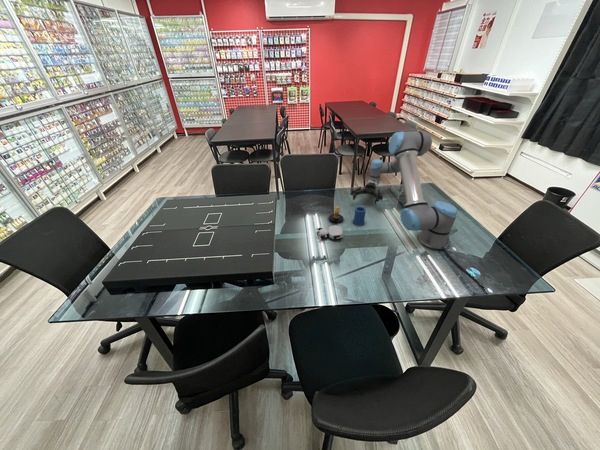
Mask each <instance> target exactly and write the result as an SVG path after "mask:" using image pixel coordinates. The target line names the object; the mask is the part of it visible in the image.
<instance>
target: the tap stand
mask: <svg viewBox="0 0 600 450" xmlns="http://www.w3.org/2000/svg"><path fill="white" fill-rule="evenodd" d="M328 221H329V222H330V223H331V224H334V225H338V224H339V225H340V224H342V223H343V222H344V216H343V215H342V214H340V207H339V206H338V205H337V206H335V207H334V213H332V214H330V215H329V216H328Z"/></svg>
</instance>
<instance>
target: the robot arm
mask: <svg viewBox="0 0 600 450" xmlns="http://www.w3.org/2000/svg"><path fill="white" fill-rule="evenodd" d="M432 144H433V139H432V137H431V135H430V133H428V132H426V131H424V130H413V131H409V130H408V131H396V132H395V133H393V134H392V136H391V137H390V140H389V142H388V152H389V154H390V155H392V156H394V159H393V160H392V161H388V162H384V161H383V160H382V159H373V160H372V161H371V162H370V167H369V175H368V180H367V182H366V184H365V185H364V187H362V186H359V187H357V188H355V189H353V190H352V189H351V195H352V201H355V200H356V198H357V196H359V195H365V194H367V195H370V196H372V197H373V198H375V200H374V204H373V205H375V206H376V205H377V202H379V201H383V199H384V196H383V194H382V193H381V191H380V189H377V188H378V185H379V184H380V181H381V175H382V174H398V173H400V176H401V178H400V179H401V183H402V188H403V195H404V201H405V203H404V205H403V209H401V211H400V216H399V218H400V222H401V224H402V226H403V227H404V228H405V230H408V231H409V232H410V231H416V232H418V231H421V232H420V233H419V236H418V241H419V243H420V244H421V245H422V246H424V247H426V248H428V249H430V250H435V251H444V253H445V254H446V256H447V257H448V258H449V259H450V260H451V261H452V262H453V263H454V264H455V265H456V266H457V267H458V268H459V269H461V270H462V272H464V273H465V274H466V275H468V276H469V277H470V278H472V279H473V281H475V282H476V283H477V284H478V285H479V286H480V287H481V285H480V284H479V282H480V281H479V280H478V279H477V278H476V279H477V280H478V281H479V282H478V281H477V280H476V279H474V278H473V277H474V276H473V275H472V274H471V273H470V272H468V271H467V270H466V269H465V268H464V267H463V266H462V265H461V264H460V263H458V262H457V261H456V260H455V258H453V256H451V254H450V253H449V252H448V250H447V249H448V248H449V246H450V232H451V231H452V229H453V226H454V223H455V221H456V219H457V216H458V212H459V210H458V209H457V208H456V207H455V206H454V205H452V204H451V203H448V202H444V201H434V203H433V204H432V206H429V203H428V202H427V201H426V200H425V199H424V193H423V190H422V189H423V188H422V183H421V179H420V174H419V173H420V172H419V169H418V163H417V158H418V157H422V156H423V155H425V154H426V153H427V152H429V150H431V147H432ZM471 275H472V276H473V277H472V276H471Z"/></svg>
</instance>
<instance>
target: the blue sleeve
mask: <svg viewBox="0 0 600 450" xmlns="http://www.w3.org/2000/svg"><path fill="white" fill-rule="evenodd" d="M366 213H367V209H366V207H364V206H356V207H354V214H353V224H354V225H355V226H360V227H361V226H363V225H364V224H365V218H366Z"/></svg>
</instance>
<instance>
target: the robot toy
mask: <svg viewBox="0 0 600 450" xmlns="http://www.w3.org/2000/svg"><path fill="white" fill-rule="evenodd" d="M315 231H317V232H316V236H317V237H318V238H317V240H318V241H323V240H325V239H326V238H330V239H332V240H339V239H342V238H344V235H343V234H344V230H343V228H342V227H341V226H340V223H339V224H334V225H330V226H329V227H328V228H323V227H316V228H315Z"/></svg>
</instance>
